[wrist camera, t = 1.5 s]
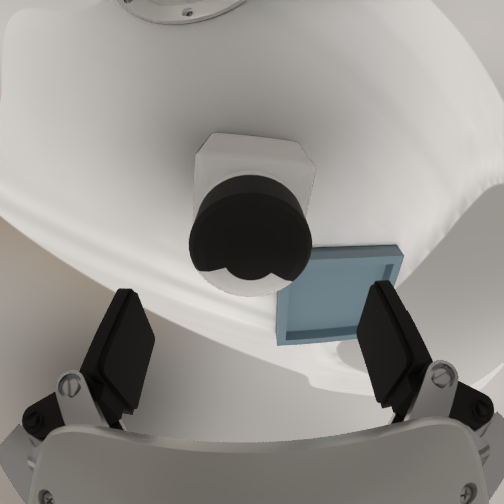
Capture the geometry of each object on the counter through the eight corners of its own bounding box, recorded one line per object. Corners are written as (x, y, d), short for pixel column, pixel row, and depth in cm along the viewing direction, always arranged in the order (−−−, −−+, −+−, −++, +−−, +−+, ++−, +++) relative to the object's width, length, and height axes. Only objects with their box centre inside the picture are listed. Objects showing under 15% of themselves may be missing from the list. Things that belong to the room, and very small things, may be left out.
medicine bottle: (210, 131, 20) (172, 180, 10) (298, 141, 21) (344, 198, 11) (206, 209, 24) (178, 306, 14) (284, 217, 25) (306, 316, 15)
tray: (278, 249, 27) (280, 261, 25) (396, 244, 27) (404, 255, 25) (276, 333, 34) (277, 345, 32) (369, 325, 34) (374, 336, 32)
